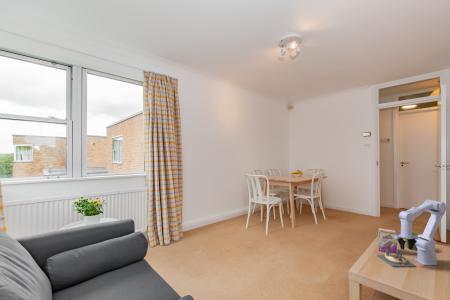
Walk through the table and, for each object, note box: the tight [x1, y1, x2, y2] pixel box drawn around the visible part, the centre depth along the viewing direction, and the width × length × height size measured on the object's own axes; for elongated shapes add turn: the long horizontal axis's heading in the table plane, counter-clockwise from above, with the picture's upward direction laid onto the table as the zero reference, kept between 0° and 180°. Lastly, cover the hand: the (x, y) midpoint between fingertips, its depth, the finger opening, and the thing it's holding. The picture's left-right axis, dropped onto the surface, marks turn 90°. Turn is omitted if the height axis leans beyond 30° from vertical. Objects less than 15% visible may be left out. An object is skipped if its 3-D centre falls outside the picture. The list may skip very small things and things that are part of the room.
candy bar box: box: [377, 227, 398, 254], centre depth 163 cm, size 11×5×16 cm, turn 58°
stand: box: [376, 254, 416, 268], centre depth 149 cm, size 15×15×1 cm
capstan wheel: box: [384, 248, 407, 264], centre depth 149 cm, size 12×12×6 cm
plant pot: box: [404, 231, 421, 251], centre depth 168 cm, size 12×12×11 cm
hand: (406, 249), depth 144 cm, fingers open, 5 cm apart
